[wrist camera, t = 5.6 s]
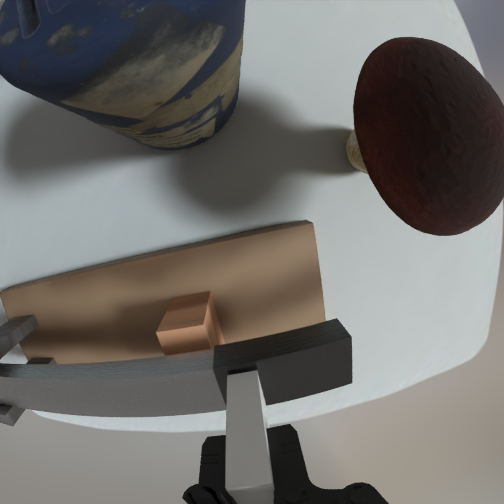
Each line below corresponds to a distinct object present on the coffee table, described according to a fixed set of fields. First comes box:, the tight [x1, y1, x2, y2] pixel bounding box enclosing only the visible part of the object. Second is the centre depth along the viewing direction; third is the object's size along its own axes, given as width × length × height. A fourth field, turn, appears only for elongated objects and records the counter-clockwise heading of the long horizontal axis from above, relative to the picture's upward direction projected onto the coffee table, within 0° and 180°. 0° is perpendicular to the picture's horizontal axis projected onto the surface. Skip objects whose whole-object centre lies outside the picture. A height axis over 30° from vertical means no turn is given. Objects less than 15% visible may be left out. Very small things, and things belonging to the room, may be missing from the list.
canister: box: [0, 0, 246, 150], centre depth 11 cm, size 10×10×18 cm
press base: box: [0, 220, 326, 426], centre depth 18 cm, size 12×32×12 cm, turn 101°
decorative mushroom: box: [346, 37, 504, 236], centre depth 14 cm, size 11×11×15 cm
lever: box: [0, 318, 352, 417], centre depth 14 cm, size 4×29×2 cm, turn 101°
